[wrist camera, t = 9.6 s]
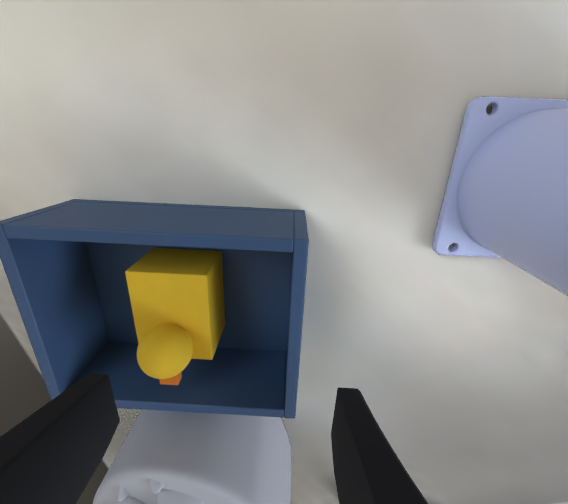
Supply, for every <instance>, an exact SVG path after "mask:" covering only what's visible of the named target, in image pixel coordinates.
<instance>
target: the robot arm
mask: <svg viewBox="0 0 568 504" xmlns="http://www.w3.org/2000/svg"><path fill="white" fill-rule="evenodd" d="M489 104H491V105H492V106H493V108H492V111H491V113H490V114H487V112H486V108H487V106H488V105H489ZM452 243H454V247H453V248H452V249H448V247H449V245H450V244H452ZM432 248H433V250H434V251H435V252H436V253H437V254H439V255H451V256H471V257H491V258H504V259H506V260H507V261H509V262H511V263H512V264H514V265H516V266H518V267H519V268H521V269H523V270H524V271H526V272H528V273H529V274H531V275H533V276H534V277H536V278H538V279H539V280H541V281H543V282H545V283H546V284H548V285H550V286H551V287H553V288H555V289H556V290H558V291H560V292H561V293H563V294H565V295H566V296H568V100H563V99H538V98H514V97H489V96H483V97H477V98H474V99H473V100H471V101H470V103H469V104H468V106H467V108H466V112H465V116H464V120H463V124H462V128H461V132H460V136H459V140H458V144H457V148H456V152H455V156H454V160H453V164H452V168H451V172H450V176H449V180H448V184H447V188H446V192H445V196H444V200H443V204H442V208H441V212H440V216H439V220H438V224H437V228H436V232H435V236H434V240H433V244H432ZM119 421H120V420H119V416H118V412H117V407H116V403H115V399H114V395H113V391H112V387H111V383H110V379H109V375H106V374H88V375H86V376H85V377H84V378H82V379H81V380H79V381H78V382H76V383H75V384H73V385H72V386H71V387H69V388H68V389H66V390H65V391H64V392H62V393H61V394H60V395H58V396H57V397H55V398H54V399H53V400H51V401H50V402H49V403H47V404H46V405H44V406H43V407H42V408H40V409H39V410H37V411H36V412H35V413H33V414H32V415H30V416H29V417H28V418H26V419H25V420H23V421H22V422H21V423H19V424H18V425H16V426H15V427H14V428H12V429H11V430H9V431H8V432H7V433H5V434H4V435H2V436H1V437H0V504H76V502H77V501H78V499H79V497H80V496H81V494H82V492H83V491H84V489H85V487H86V485H87V484H88V482H89V480H90V479H91V477H92V475H93V474H94V472H95V470H96V468H97V467H98V465H99V463H100V462H101V460H102V458H103V456H104V454H105V452H106V450H107V448H108V446H109V444H110V442H111V439H112V437H113V435H114V433H115V430H116V428H117V426H118V424H119ZM331 438H332V451H333V464H334V474H335V480H336V486H337V492H338V498H339V504H428V503H427V501H426V500H425V498H424V497H423V495H422V494H421V492H420V491H419V489H418V488H417V486H416V485H415V483H414V482H413V480H412V479H411V477H410V476H409V474H408V473H407V471H406V470H405V468H404V467H403V465H402V463H401V462H400V460H399V459H398V457H397V455H396V454H395V452H394V451H393V449H392V447H391V446H390V444H389V442H388V441H387V439H386V437H385V436H384V434H383V432H382V431H381V429H380V427H379V425H378V424H377V422H376V420H375V418H374V416H373V415H372V413H371V411H370V409H369V407H368V405H367V403H366V402H365V400H364V398H363V396H362V394H361V392H360V391H359V390H358V389H353V388H338V390H337V397H336V404H335V411H334V417H333V424H332V431H331Z"/></svg>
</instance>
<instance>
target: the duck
mask: <svg viewBox="0 0 568 504" xmlns="http://www.w3.org/2000/svg"><path fill="white" fill-rule="evenodd" d="M125 274H126V280H127V285H128V290H129V296H130V301H131V306H132V312H133V317H134V323H135V328H136V333H137V339H138V344H139V345H138V349H137V361H138V364H139V366H140V368H141V369H142V371H143V372H144V373H145V374H147V375H148V376H150V377H153V378H156V379H159V381H160V384H165V385H179V383H180V380H181V378H182V371H183V370H184V369H185V368H186V366H187V365H188V364H189V362H190V360H191V359H208V360H212V359H213V357H214V354H215V351H216V348H217V346H218V343H219V340H220V337H221V335H222V332H223V329H224V326H225V309H224V286H223V264H222V251H212V250H192V249H172V248H153V249H152V250H151V251H150V252H148V253H147V254H146V255H145V256H143V257H142V258H141V259H140V260H138V261H137V262H136V263H135V264H133V265H132V266H131V267H130V268H129V269H127V270H126V271H125Z"/></svg>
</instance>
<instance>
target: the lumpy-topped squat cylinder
mask: <svg viewBox="0 0 568 504" xmlns="http://www.w3.org/2000/svg"><path fill="white" fill-rule="evenodd" d="M290 497H291V446H290V442H289V438H288V435H287V432H286V429H285V427H284V424H283V422H282V420H281V418H280V417H264V416H247V415H230V414H213V413H196V412H179V411H162V410H144V409H142V410H141V412H140V414H139V416H138V418H137V419H136V421H135V423H134V425H133V427H132V428H131V430H130V432H129V434H128V436H127V437H126V439H125V441H124V443H123V445H122V447H121V448H120V450H119V452H118V454H117V456H116V457H115V459H114V461H113V463H112V465H111V466H110V468H109V470H108V472H107V474H106V476H105V478H104V479H103V481H102V483H101V485H100V487H99V489H98V490H97V492H96V495H95V498H94V501H93V504H290Z"/></svg>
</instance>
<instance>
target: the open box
mask: <svg viewBox="0 0 568 504" xmlns="http://www.w3.org/2000/svg"><path fill="white" fill-rule="evenodd" d="M308 244H309V239H308V232H307V224H306V217H305V211H304V210H290V209H268V208H247V207H226V206H205V205H184V204H162V203H141V202H120V201H99V200H78V199H73V200H70V201H66V202H63V203H60V204H56V205H53V206H49V207H46V208H43V209H39V210H36V211H32V212H29V213H26V214H22V215H19V216H15V217H12V218H9V219H5V220H2V221H0V259H1V261H2V264H3V267H4V270H5V272H6V275H7V278H8V281H9V284H10V286H11V289H12V292H13V295H14V297H15V300H16V303H17V306H18V309H19V311H20V314H21V317H22V320H23V322H24V325H25V328H26V331H27V334H28V336H29V339H30V342H31V345H32V347H33V350H34V353H35V356H36V359H37V361H38V364H39V367H40V370H41V372H42V375H43V378H44V381H45V383H46V386H47V389H48V392H49V395H50V397H51V400H53V399H54V398H55V397H57V396H58V395H60V394H61V393H62V392H64V391H65V390H66V389H68V388H69V387H71V386H72V385H73V384H75V383H76V382H78V381H79V380H81V379H82V378H84V377H85V376H86V375H88V374H106V375H109V379H110V383H111V387H112V391H113V395H114V399H115V403H116V407H117V408H127V409H144V410H162V411H179V412H196V413H213V414H230V415H247V416H264V417H281V418H283V417H284V418H295V413H296V400H297V387H298V374H299V361H300V348H301V335H302V322H303V309H304V296H305V283H306V270H307V257H308ZM153 248H172V249H192V250H212V251H222V264H223V286H224V309H225V326H224V329H223V332H222V335H221V337H220V340H219V343H218V346H217V348H216V351H215V354H214V357H213V359H212V360H208V359H191V360H190V362H189V364H188V365H187V366H186V368H185V369H184V370H183V371H182V378H181V380H180V383H179V385H165V384H160V381H159V379H156V378H153V377H150V376H148V375H147V374H145V373H144V372H143V371H142V369H141V368H140V366H139V364H138V361H137V349H138V345H139V344H138V339H137V333H136V328H135V323H134V317H133V312H132V306H131V301H130V296H129V290H128V285H127V280H126V274H125V271H126V270H127V269H129V268H130V267H131V266H132V265H133V264H135V263H136V262H137V261H138V260H140V259H141V258H142V257H143V256H145V255H146V254H147V253H148V252H150V251H151V250H152V249H153Z"/></svg>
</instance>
